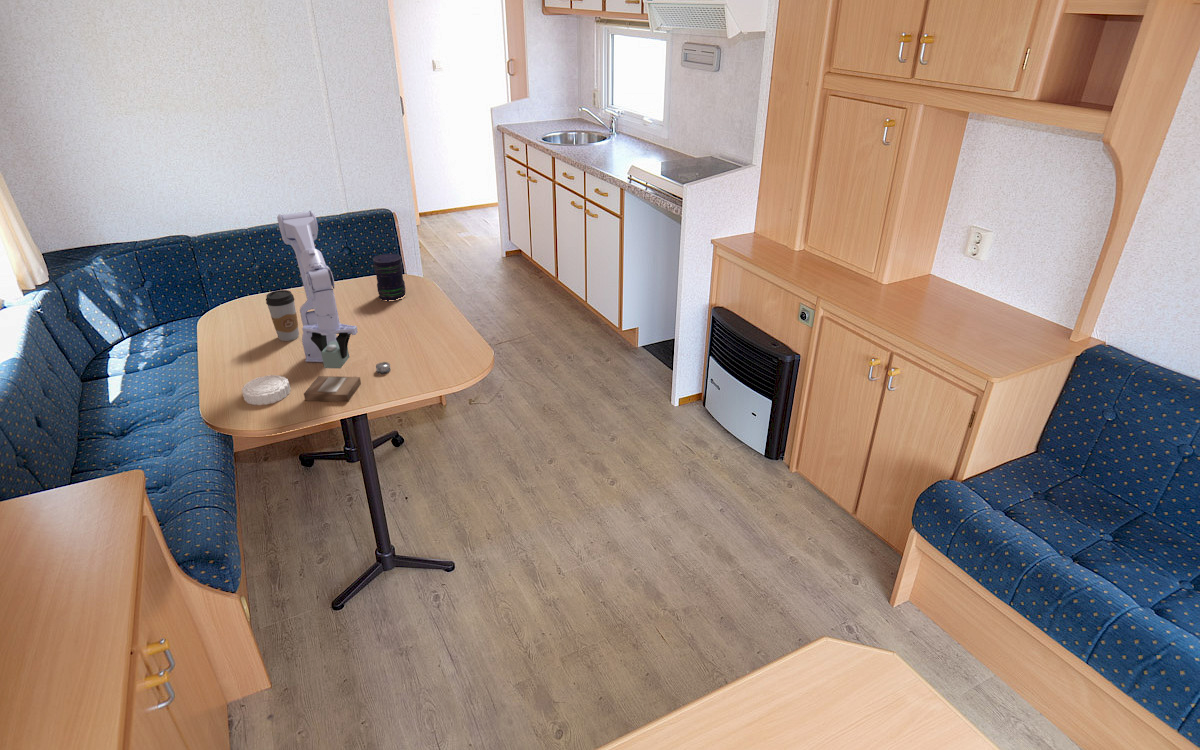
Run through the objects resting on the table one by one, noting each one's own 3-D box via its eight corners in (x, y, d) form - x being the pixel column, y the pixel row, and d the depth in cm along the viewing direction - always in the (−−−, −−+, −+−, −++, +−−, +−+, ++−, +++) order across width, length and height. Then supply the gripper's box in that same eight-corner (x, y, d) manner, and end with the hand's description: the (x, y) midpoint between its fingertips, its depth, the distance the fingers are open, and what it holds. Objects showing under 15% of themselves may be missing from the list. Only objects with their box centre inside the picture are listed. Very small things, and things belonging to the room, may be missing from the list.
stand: (305, 400, 188) (303, 392, 187) (319, 382, 197) (318, 375, 196) (348, 401, 188) (346, 393, 187) (361, 383, 197) (359, 376, 195)
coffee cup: (280, 345, 218) (269, 301, 211) (271, 336, 224) (261, 293, 216) (306, 338, 223) (296, 295, 215) (297, 329, 228) (288, 287, 221)
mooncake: (271, 408, 185) (268, 397, 183) (234, 402, 188) (231, 391, 186) (300, 387, 195) (297, 376, 193) (264, 381, 198) (261, 370, 196)
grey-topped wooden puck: (374, 374, 202) (373, 368, 201) (379, 367, 205) (378, 362, 204) (388, 374, 202) (387, 368, 201) (392, 368, 205) (391, 362, 204)
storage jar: (399, 289, 260) (394, 251, 253) (411, 297, 253) (405, 258, 246) (374, 295, 255) (368, 257, 247) (385, 303, 248) (379, 264, 241)
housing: (334, 356, 197) (330, 338, 194) (349, 357, 197) (345, 338, 194) (324, 368, 191) (320, 349, 188) (340, 368, 191) (336, 349, 188)
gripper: (293, 317, 183) (304, 362, 189) (347, 318, 183) (356, 363, 189) (304, 307, 189) (314, 351, 196) (356, 308, 189) (364, 352, 195)
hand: (335, 356), depth 193 cm, fingers closed on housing, 4 cm apart
